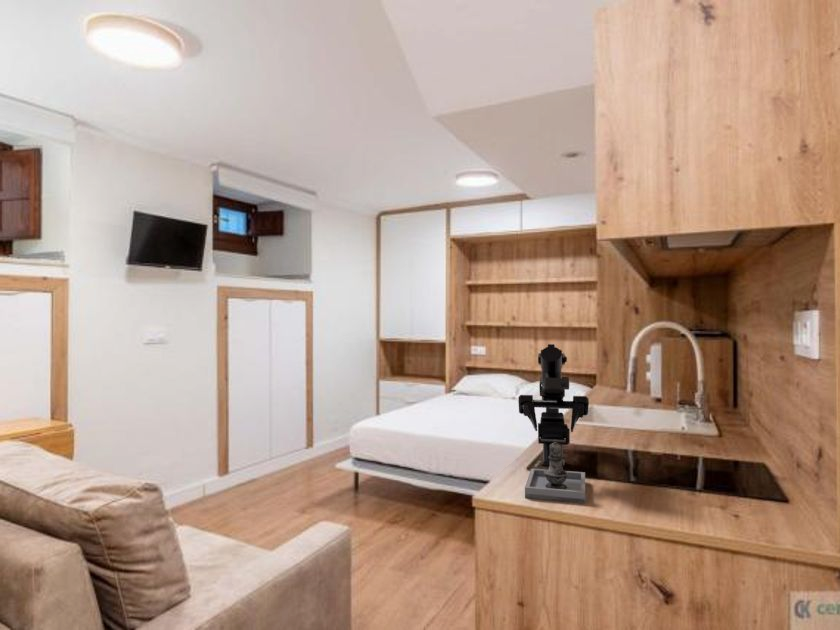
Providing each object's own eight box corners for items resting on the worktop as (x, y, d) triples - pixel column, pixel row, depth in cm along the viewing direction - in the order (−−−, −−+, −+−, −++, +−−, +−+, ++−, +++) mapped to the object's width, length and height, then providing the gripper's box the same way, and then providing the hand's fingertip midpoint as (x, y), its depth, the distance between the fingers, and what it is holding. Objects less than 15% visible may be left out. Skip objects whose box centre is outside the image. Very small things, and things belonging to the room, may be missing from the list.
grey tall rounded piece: (543, 482, 132) (542, 436, 132) (567, 483, 131) (566, 436, 131) (544, 490, 126) (543, 441, 126) (569, 491, 125) (568, 442, 125)
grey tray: (531, 477, 139) (531, 468, 139) (585, 481, 135) (584, 472, 135) (525, 497, 124) (524, 487, 124) (585, 503, 119) (585, 492, 119)
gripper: (518, 366, 143) (517, 412, 132) (587, 366, 139) (592, 414, 128) (519, 390, 151) (518, 436, 140) (585, 391, 147) (589, 438, 136)
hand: (554, 430), depth 136 cm, fingers open, 9 cm apart
